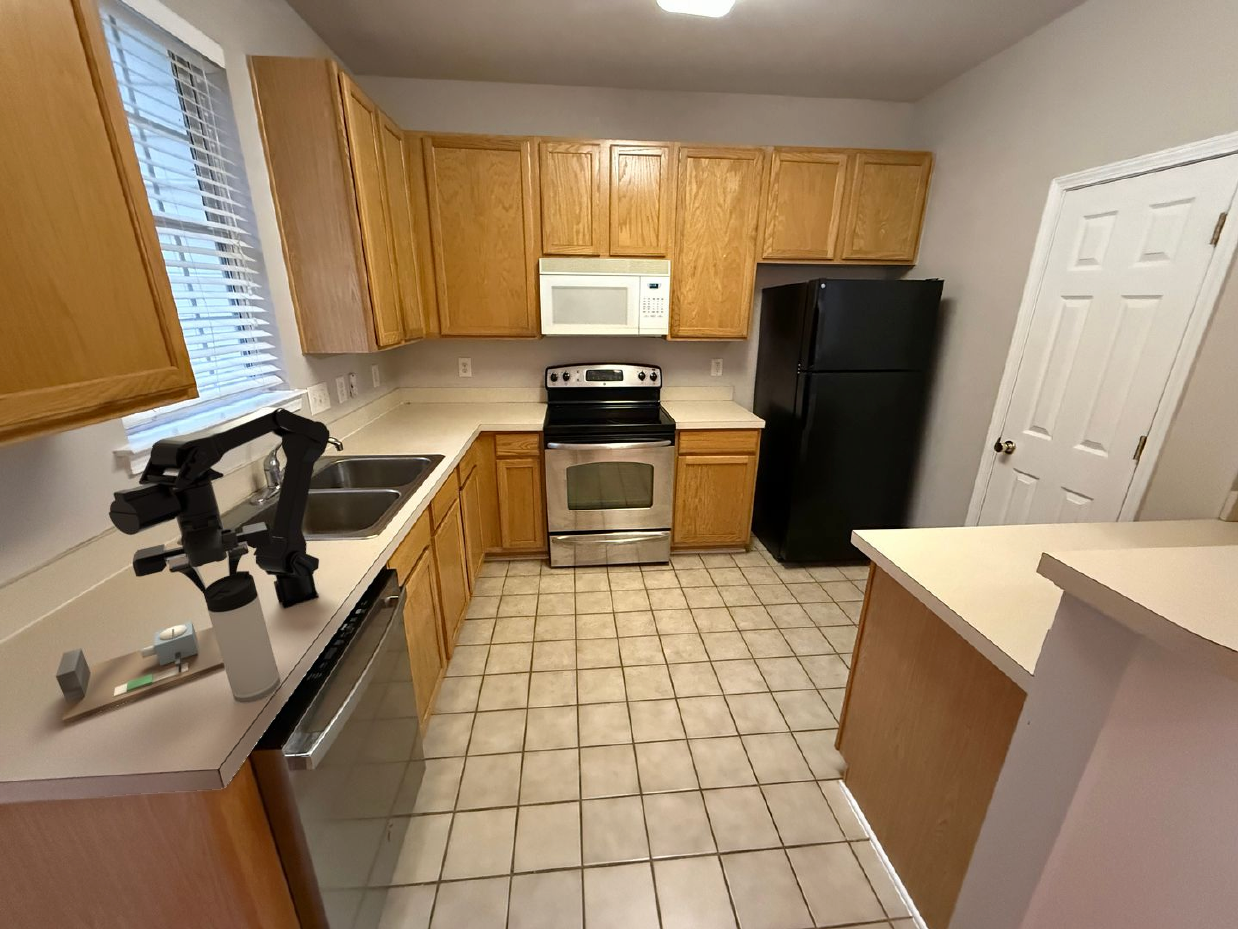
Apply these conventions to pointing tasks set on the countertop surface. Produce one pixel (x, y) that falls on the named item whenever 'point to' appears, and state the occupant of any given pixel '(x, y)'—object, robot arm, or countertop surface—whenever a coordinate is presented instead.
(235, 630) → the travel mug
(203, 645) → the gauge board
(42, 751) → the countertop surface
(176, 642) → the force gauge
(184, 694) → the countertop surface
